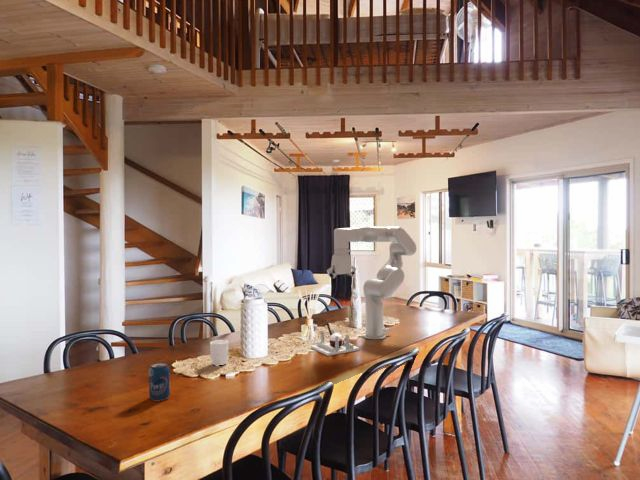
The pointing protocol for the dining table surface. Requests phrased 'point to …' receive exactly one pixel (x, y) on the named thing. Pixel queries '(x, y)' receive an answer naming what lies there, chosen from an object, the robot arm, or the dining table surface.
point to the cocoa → (332, 337)
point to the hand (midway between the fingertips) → (341, 285)
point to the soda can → (159, 381)
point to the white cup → (219, 351)
